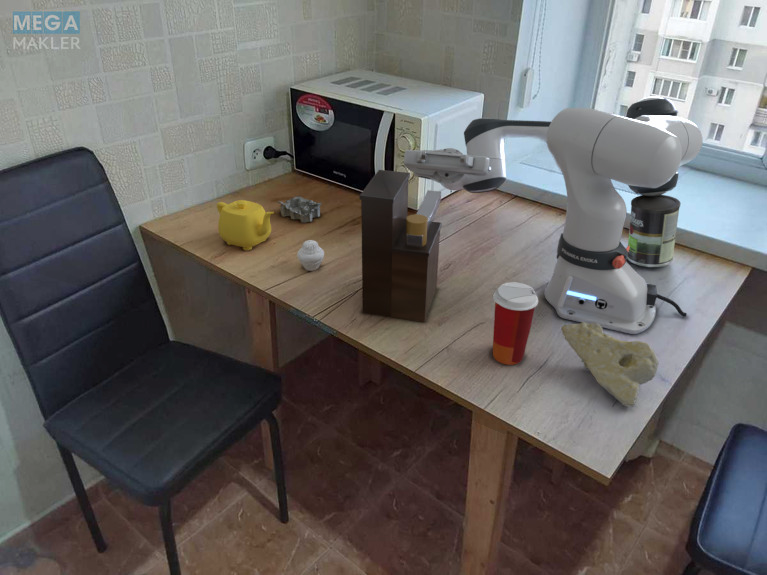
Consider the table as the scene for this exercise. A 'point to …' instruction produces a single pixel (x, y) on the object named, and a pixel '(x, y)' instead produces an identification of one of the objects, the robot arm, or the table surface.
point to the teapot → (243, 223)
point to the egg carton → (300, 209)
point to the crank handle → (422, 220)
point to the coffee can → (652, 230)
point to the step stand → (395, 252)
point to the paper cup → (512, 321)
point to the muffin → (310, 255)
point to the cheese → (613, 360)
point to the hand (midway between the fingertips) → (442, 156)
